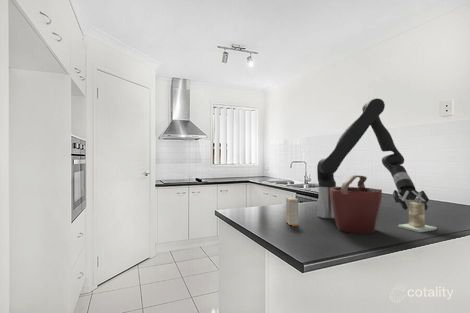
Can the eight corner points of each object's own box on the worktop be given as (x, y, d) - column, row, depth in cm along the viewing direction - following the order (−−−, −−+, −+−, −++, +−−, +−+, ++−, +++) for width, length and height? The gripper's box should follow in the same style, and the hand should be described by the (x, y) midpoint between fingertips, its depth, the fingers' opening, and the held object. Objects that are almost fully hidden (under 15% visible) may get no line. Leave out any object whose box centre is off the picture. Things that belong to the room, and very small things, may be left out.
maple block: (414, 227, 120) (413, 203, 120) (409, 224, 124) (408, 201, 125) (424, 227, 119) (424, 203, 119) (419, 225, 124) (418, 202, 124)
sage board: (419, 232, 115) (419, 230, 115) (398, 227, 124) (398, 225, 124) (436, 229, 119) (436, 227, 119) (414, 224, 129) (414, 222, 129)
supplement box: (298, 226, 127) (298, 199, 127) (289, 226, 127) (288, 199, 127) (295, 222, 135) (295, 197, 135) (286, 222, 135) (285, 197, 135)
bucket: (353, 221, 136) (352, 173, 137) (396, 231, 117) (395, 175, 117) (320, 227, 124) (319, 175, 125) (362, 239, 105) (361, 178, 105)
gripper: (391, 177, 132) (402, 204, 120) (421, 178, 130) (436, 205, 119) (386, 187, 137) (397, 213, 126) (415, 187, 135) (429, 214, 124)
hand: (416, 209), depth 122 cm, fingers open, 8 cm apart
